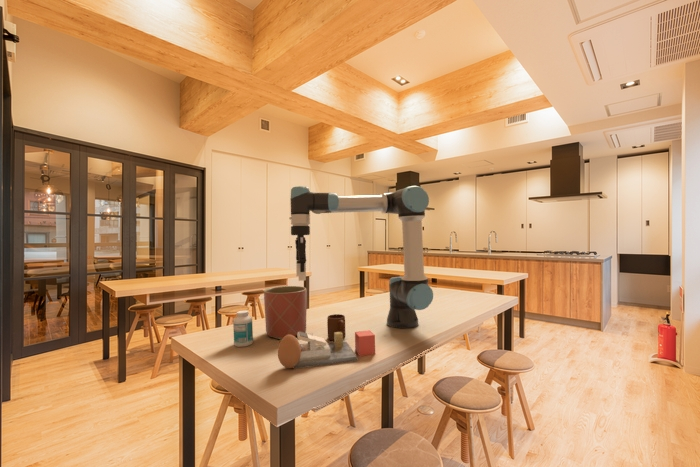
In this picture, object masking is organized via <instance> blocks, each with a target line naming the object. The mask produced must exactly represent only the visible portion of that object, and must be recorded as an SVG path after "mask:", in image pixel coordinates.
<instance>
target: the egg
mask: <svg viewBox="0 0 700 467" xmlns="http://www.w3.org/2000/svg"><path fill="white" fill-rule="evenodd" d="M300 344H301V343H300V342H299V339H298V337H296V336H293V335H286V336H285V337H283V339H282V340H280V341H279V345H278V348H277V358H278V361H279V363H280V365H281V366H283V367H284V368H286V369H293V367H294V366H295V365H296V364H297V363H298V361H299V360H300V356H301V347H300Z"/></svg>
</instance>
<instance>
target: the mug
mask: <svg viewBox="0 0 700 467" xmlns="http://www.w3.org/2000/svg"><path fill="white" fill-rule="evenodd" d="M326 319H327V325H326V326H327V338H328V340H329V341H333V342H334V332H342V333H343V340H345V339H346V317H345V315H344V314H340V313H338V314H335V313H334V314H329V315H328V316H327V318H326Z"/></svg>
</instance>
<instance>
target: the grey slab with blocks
mask: <svg viewBox="0 0 700 467" xmlns="http://www.w3.org/2000/svg"><path fill="white" fill-rule="evenodd" d="M308 334H309V335H313V336H314V333H308ZM325 341H326V340H325ZM299 344H300V347H301V356H300V360H299V361H298V363H297V364H296V365H295V366H294V367H292V369H301V368H308V367H309V368H310V367H317V366H326V365H327V366H328V365H333V364H341V363H342V362H343V363H348V362H350V361H351V362H357V361H358V355H357V353H356V352H354V351H355V350H353V349H352V347H351V346H350V345H349V343H348V342H347V341H344V339H343V333H342V332H334V341H333V342H331V343H328V342H327V341H326V346H323V345H319V344H316V339H310V342H307V343H299ZM343 363H342V364H343Z"/></svg>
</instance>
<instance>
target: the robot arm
mask: <svg viewBox="0 0 700 467" xmlns="http://www.w3.org/2000/svg"><path fill="white" fill-rule="evenodd" d="M429 203H430V198H429V195H428V193H427V191H426V190H425V189H424V188H423V187H421V186H418V185H411V186H407V187H405V188H401V189H398V190H395V191H391V192H384V193H381V194H380V195H345V196H344V195H338V194H337V193H335V192H314V191H313V192H312V191H310V187H307V186H302V185H299V186H294V187H292V188H291V189H290V217H289V220H290V224H291V226H290V235H291V236H297V237H296V238H295V240H294V241H295V242H294V243H295V249H296V251H295V260H296V262H295V264H296V265H295V266H296V268H295V269H296V277H298V281H299V282H300V281H303V282H304V281H307V271H306V270H307V268H306V267H307V266H306V265H307V256H306V255H307V254H306V247H307V246H306V244H307V240H306V237H304V236H309V235H310V234H311V232H310V231H311V228H310V224H311V221H310V220H311V218H310V216H311V215H310V214H311V213H310V212H312V213H313V214H317V215H320V214H321V215H322V214H331V213H332V214H335V213H337V214H338V213H369V212H370V213H371V212H381V214H392V215H393V214H395V215H398V216H397V217H398V219H399V220H400V221H401V225H402V244H403V245H402V247H403V248H402V250H403V270H404V271H403V272H404V275H403V276H395V277H394V276H393V277H391V278H389V283H388V288H389V310H388V314H387V317H386V325H387V326H389V327H391V328H396V329H410V328H411V329H412V328H414V327H415V328H416V327H418V325H419V318H418V316H417V311H422V310H426V309H427V308H428V307H429V306H430V305H431V304H432V302H433V299H434V291H433V289H432V288H431V286H430V285H429V278H428V276H427V275H426V274H425V267H424V264H425V263H424V245H423V244H424V242H423V222H422V221H423V219H424V218H425V216H426V214H425V213H426V211H425V210H427V208H428V206H429Z"/></svg>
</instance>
